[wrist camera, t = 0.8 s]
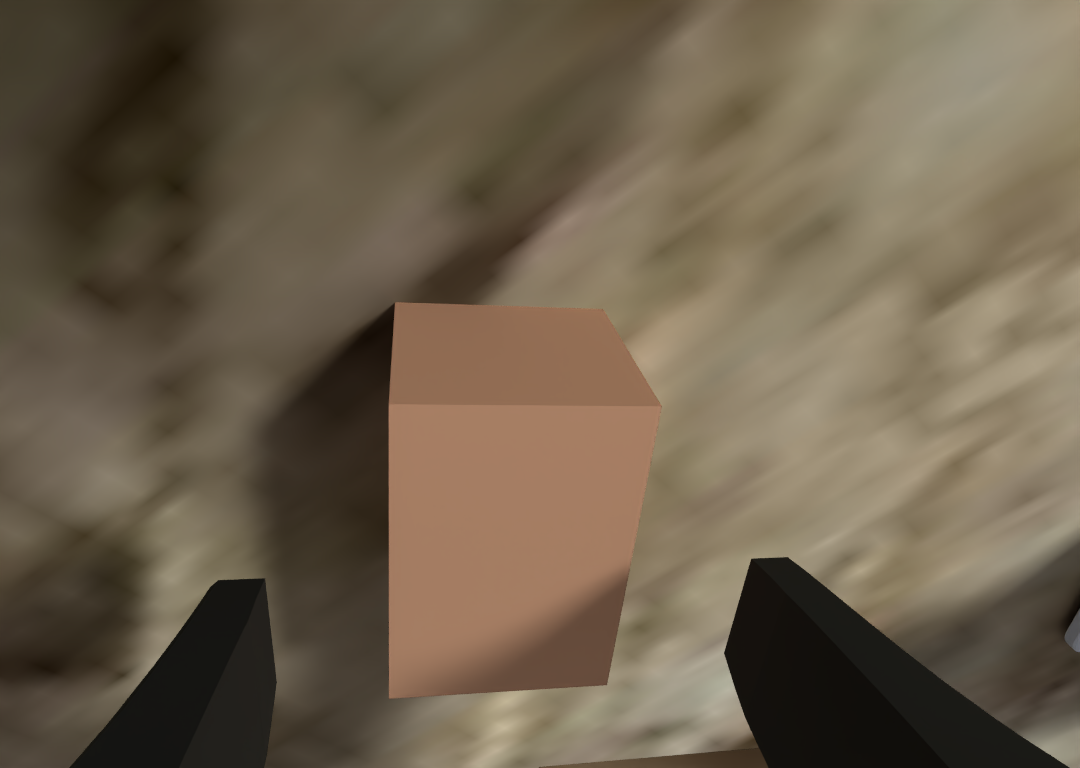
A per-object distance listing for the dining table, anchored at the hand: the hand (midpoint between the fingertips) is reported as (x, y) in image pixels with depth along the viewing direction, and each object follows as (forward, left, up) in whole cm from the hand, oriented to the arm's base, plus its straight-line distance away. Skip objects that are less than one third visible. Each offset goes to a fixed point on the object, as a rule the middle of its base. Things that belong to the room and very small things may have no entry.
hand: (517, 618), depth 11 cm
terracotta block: (0, 0, -5) cm, 5 cm away
